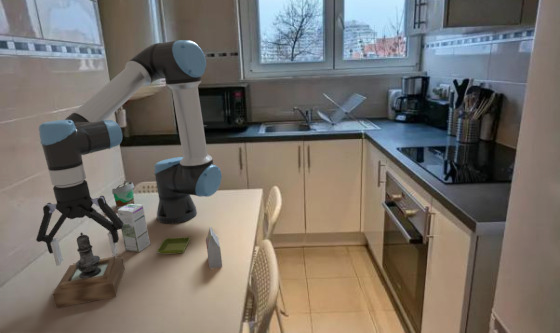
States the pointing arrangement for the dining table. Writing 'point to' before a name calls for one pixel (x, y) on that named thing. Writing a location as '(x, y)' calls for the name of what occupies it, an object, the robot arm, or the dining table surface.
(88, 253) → the salt shaker
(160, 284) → the dining table surface
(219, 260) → the grey upright block
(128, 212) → the syrup box
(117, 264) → the display pedestal
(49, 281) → the dining table surface
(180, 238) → the olive green shallow tray
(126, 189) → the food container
